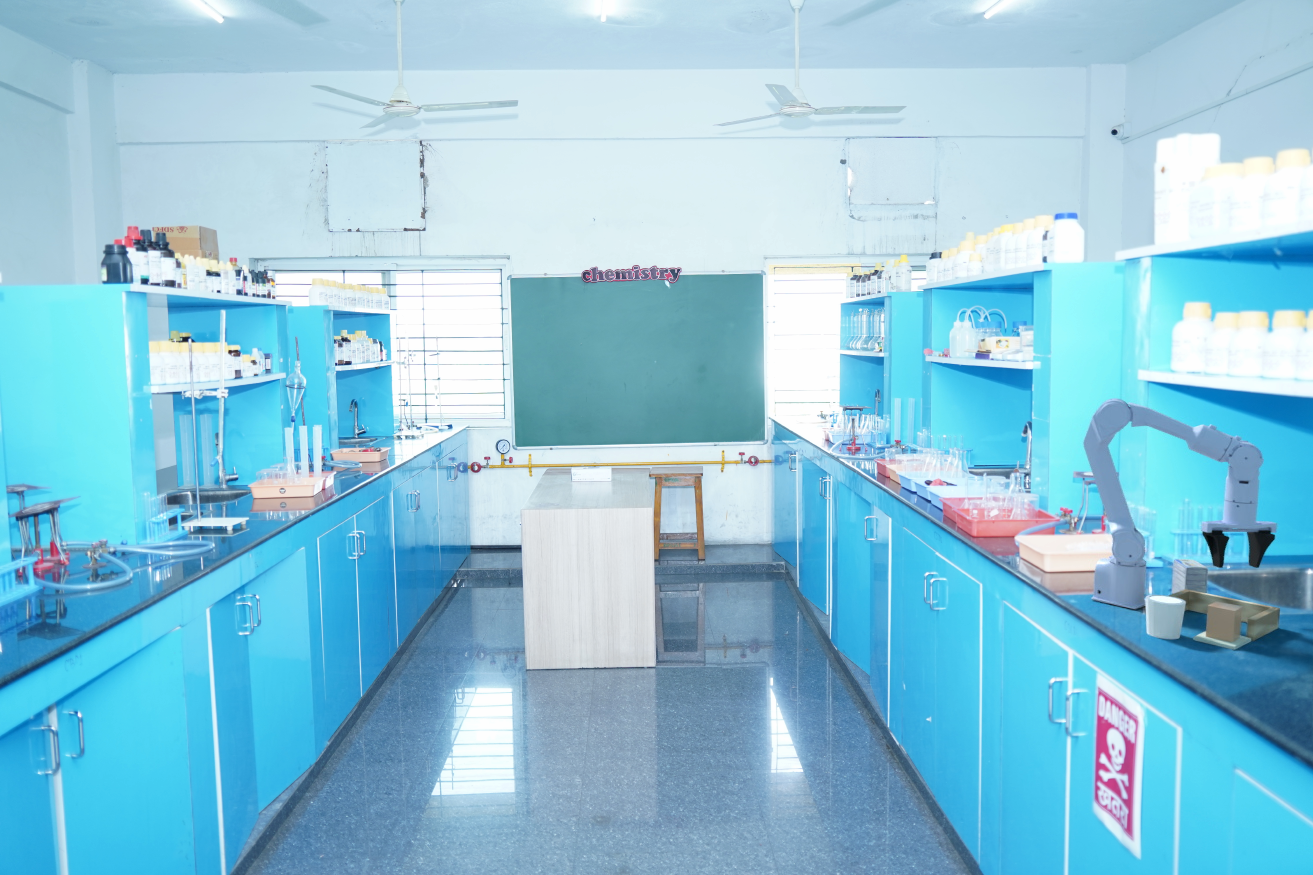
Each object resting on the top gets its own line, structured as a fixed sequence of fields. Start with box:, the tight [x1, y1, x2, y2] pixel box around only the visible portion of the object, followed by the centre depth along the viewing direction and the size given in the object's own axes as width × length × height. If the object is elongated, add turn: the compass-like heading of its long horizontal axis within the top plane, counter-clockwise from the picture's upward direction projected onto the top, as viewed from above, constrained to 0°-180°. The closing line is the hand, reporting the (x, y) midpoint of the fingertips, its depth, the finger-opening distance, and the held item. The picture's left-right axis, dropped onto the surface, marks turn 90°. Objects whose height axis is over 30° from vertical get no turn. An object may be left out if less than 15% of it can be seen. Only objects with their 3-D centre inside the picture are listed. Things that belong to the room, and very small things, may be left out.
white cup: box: [1144, 594, 1186, 640], centre depth 176 cm, size 7×7×7 cm
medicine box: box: [1171, 558, 1209, 594], centre depth 198 cm, size 8×4×9 cm, turn 168°
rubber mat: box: [1192, 630, 1252, 651], centre depth 172 cm, size 7×8×1 cm
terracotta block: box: [1205, 601, 1242, 642], centre depth 172 cm, size 4×4×6 cm
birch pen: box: [1168, 589, 1281, 642], centre depth 183 cm, size 17×13×4 cm
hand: (1235, 566), depth 187 cm, fingers open, 7 cm apart
